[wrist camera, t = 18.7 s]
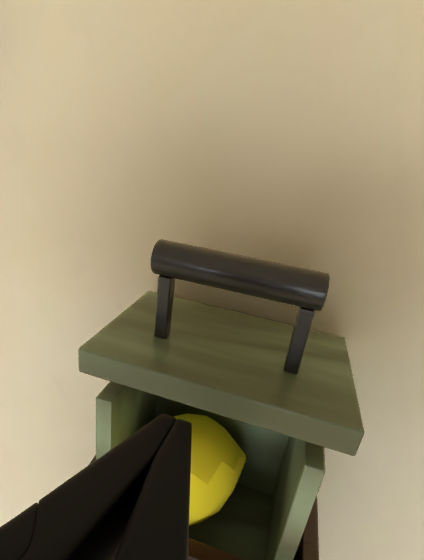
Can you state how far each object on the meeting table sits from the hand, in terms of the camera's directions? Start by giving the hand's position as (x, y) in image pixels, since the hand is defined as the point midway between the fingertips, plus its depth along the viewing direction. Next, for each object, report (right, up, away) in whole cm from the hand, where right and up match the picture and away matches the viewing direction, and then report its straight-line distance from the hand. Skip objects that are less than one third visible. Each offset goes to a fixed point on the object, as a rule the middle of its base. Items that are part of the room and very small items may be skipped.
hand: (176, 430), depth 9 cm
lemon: (0, -4, +8) cm, 9 cm away
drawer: (+2, -2, +12) cm, 12 cm away
